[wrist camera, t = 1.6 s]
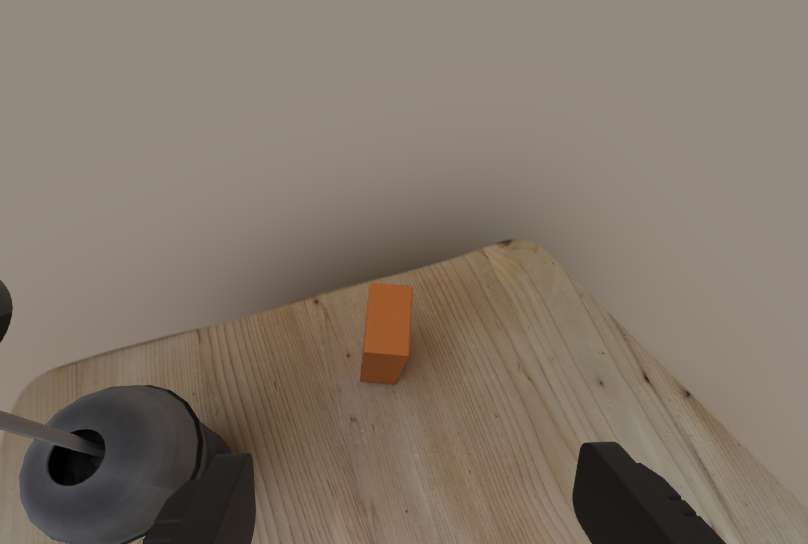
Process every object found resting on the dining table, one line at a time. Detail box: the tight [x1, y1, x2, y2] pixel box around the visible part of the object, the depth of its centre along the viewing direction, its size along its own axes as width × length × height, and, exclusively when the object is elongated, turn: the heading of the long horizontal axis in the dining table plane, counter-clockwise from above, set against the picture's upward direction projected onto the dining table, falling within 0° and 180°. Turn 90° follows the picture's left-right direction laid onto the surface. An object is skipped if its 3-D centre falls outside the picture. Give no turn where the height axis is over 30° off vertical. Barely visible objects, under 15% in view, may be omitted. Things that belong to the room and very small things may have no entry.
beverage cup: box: [0, 385, 231, 544], centre depth 21 cm, size 7×7×20 cm
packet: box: [360, 283, 413, 384], centre depth 32 cm, size 3×5×9 cm, turn 177°
